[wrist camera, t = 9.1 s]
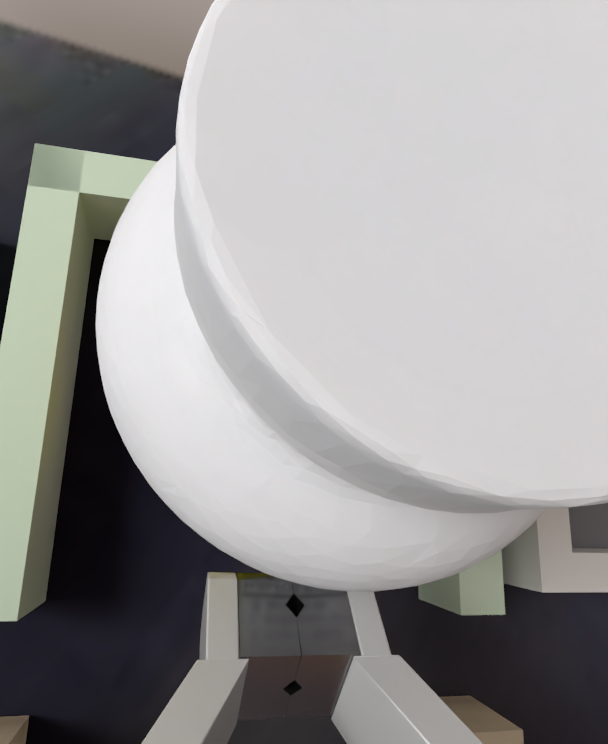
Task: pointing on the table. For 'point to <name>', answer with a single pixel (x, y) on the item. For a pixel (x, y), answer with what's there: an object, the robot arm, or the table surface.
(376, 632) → the robot arm
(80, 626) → the table surface
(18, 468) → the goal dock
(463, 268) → the supplement bottle
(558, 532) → the tray
